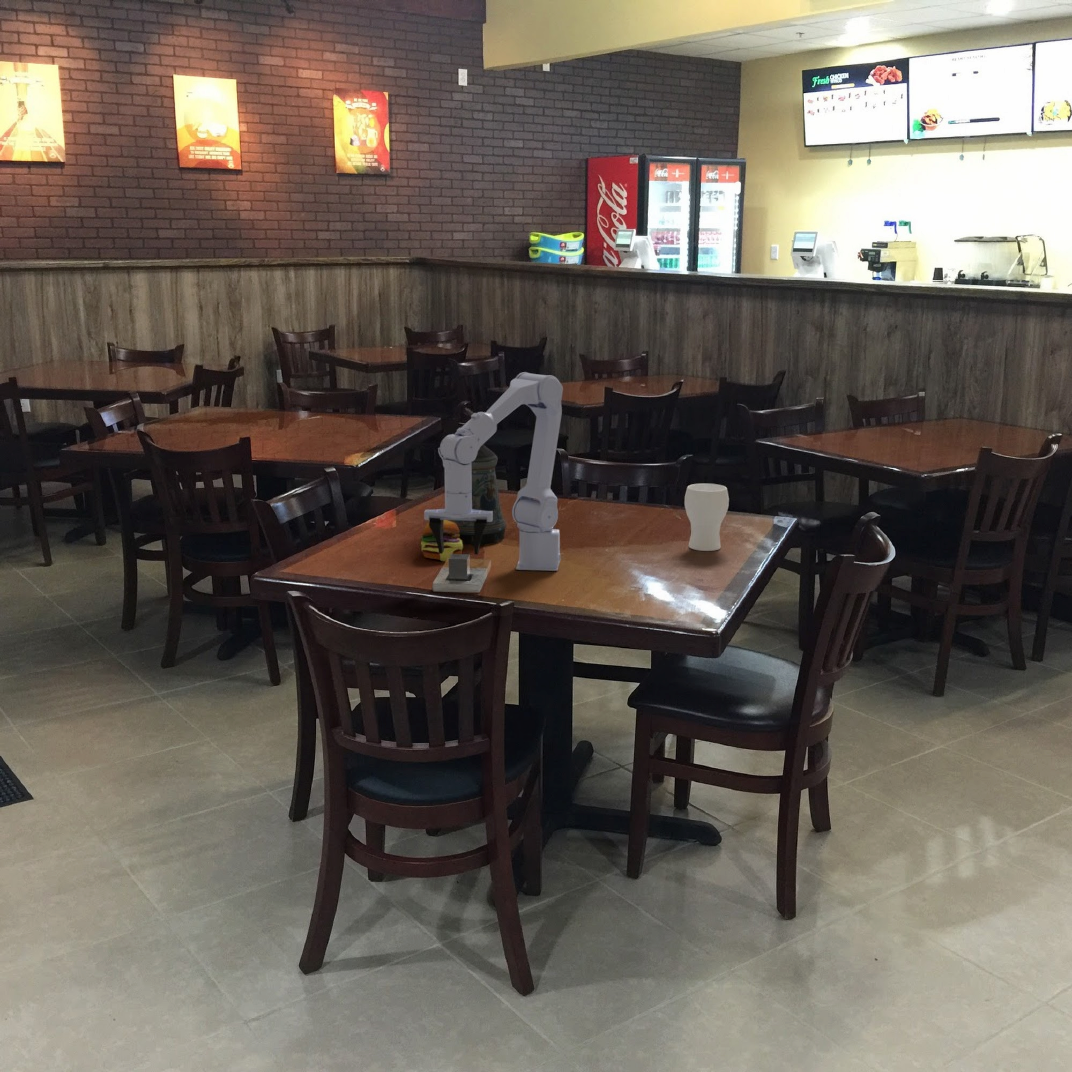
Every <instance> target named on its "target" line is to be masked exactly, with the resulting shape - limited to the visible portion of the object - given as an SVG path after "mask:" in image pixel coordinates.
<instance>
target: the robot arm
mask: <svg viewBox="0 0 1072 1072" xmlns="http://www.w3.org/2000/svg"><path fill="white" fill-rule="evenodd" d="M563 391H564V387H563V384H562V383H561V381H559V379H558V378H557V377H556V376H554V375H552V374H551V375H546V374H536V373H530V372H527V371H524V372H519V374H517V375H516V377H515V378H512V380H511V381H510V383H509V387H508V389H506V390H505V391H504V393H502V395H501V396H500V397H499V398H498V399H497V400H496V401H495V402H494V403H493V404H492V405H491V406H490V407H489V408H488V409H487V410H486V412H485V411H484V412H483V411H478V412H474V413H473V414H471V415H470V417H471V418H470V419H469V420H468V421H467V422H465V424H463V425H462V426H460V427H458V428H457V429H456V432H455V433H452V434H448V435H446V436H445V437H444V438H443V439H442V440H441V442H440V444H439V445H440V446H439V447H438V448H437V450H438V451H437V452H438V455H439V457H440V458H441V460H442V466H443V468H444V508H439V509H425V510H424V512H423V513H424V516H423V518H424V519H423V520H424V521H428V523H429V527H430V529H431V530H432V532H433V534H434V537H435V539H436V542H437V545H438V550H439V553H440V554H442V553H443V551H444V542H443V522H444V520H466V521H476V522H475V523H474V534H475V545H473V547H474V548H473V551H474V552H473V553H474V555H479V552H480V546H481V545H480V542H481V538H482V535H483V532H484V530H485V527H486V525H487V523H488V522H492V520H493V511H482V510H473V509H472V468H471V462H472V461H474V460H475V458H476V456H477V453H478V450H479V449H480V447H481V446H482V445H485V443H486V442H487V441H488V440H490V438H491V437H492V436H494V434H495V433H496V432H497V430H498V424H499V423H500V422H501V421H502V420H504V419H505V418H506V417H508V416H509V415H510V414H511V413H512V412H513V411H515V410H516V409H517V408H519V407H520V406H521V405H526V406H527V407H529V409H530V410H531V411H532V412H533V414H534V415H535V417H536V418H535V419H536V420H535V426H534V433H533V438H532V445H531V446H532V447H531V453H530V459H529V466H528V473H527V480H526V484H525V486H523V487H521V489H519V490H518V491H517V496H516V500H515V502H514V504H513V506H512V509H511V514H512V518H513V521H514V522H515V523H516V524H517V525H516V526H517V528H518V529H519V531H518V532H519V533H518V534H519V537H518V540H519V541H518V543H519V545H518V546H519V550H518V552H519V553H518V554H519V557H518V562H517V565H516V567H515V570H516V571H517V570H519V571H549V572H550V571H552V572H553V571H554V572H555V571H556V572H557V571H558V570H559V567H560V566H559V565H560V563H561V555H562V554H561V553H560V552H561V551H560V550H561V547H560V546H561V539H560V538H561V534H560V532H561V531H560V529H556V528H554V527H555V526H556V524H557V522H558V518H559V509H558V497H557V496H556V494H555V493H554V492H553V489H551V485H552V479H553V472H554V466H555V460H556V454H557V446H558V440H559V433H560V427H561V422H562V421H561V420H562V415H563V413H562V412H563V409H562V408H563V407H562V398H563V393H564V392H563Z"/></svg>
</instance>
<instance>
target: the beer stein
mask: <svg viewBox="0 0 1072 1072" xmlns="http://www.w3.org/2000/svg"><path fill="white" fill-rule="evenodd" d="M498 459H499V458H498V456H497V454H495V452H494V451H492V450H491V449H490V448H488V447H487V446H486V445H485V444H483V445H482V446H481V447H480V449H479V450H478V453H477V456H476V458H475V460H474V461H472V462H471V468H472V509H473V510H482V511H493V520H492V522H488V523H487V525H486V527H485V530H484V532H483V535H482V538H481V542H480V546H482V545H483V546H484V545H490V544H491V545H492V544H496V543H499V542H500V541H503V540H504V539H505V533H506V528H507V522H506V520H505V518H504V515H503V512H502V507H501V502H500V495H499V490H498V489H499V488H498V483H497V482H498V481H497V475H496V466H497V463H498ZM448 521H452V522H454V523H456V524H457V526H458V528H459V533H458V534H459V535H460V536H459V537H458V538H460V540H462V544H463V546H464V545H465V546H474V545H475V534H474V523H475V522H476V521H466V520H448ZM458 534H457V535H458Z"/></svg>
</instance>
